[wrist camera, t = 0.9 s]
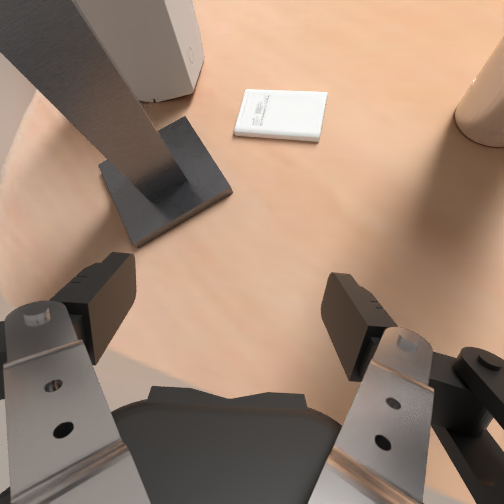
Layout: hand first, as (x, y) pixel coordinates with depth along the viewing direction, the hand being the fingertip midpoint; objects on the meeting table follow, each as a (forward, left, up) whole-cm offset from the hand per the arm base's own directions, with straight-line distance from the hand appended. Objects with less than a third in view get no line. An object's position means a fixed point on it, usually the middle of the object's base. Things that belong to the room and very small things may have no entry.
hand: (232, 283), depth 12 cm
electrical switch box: (-29, -38, -23) cm, 53 cm away
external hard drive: (-27, -14, -23) cm, 38 cm away
